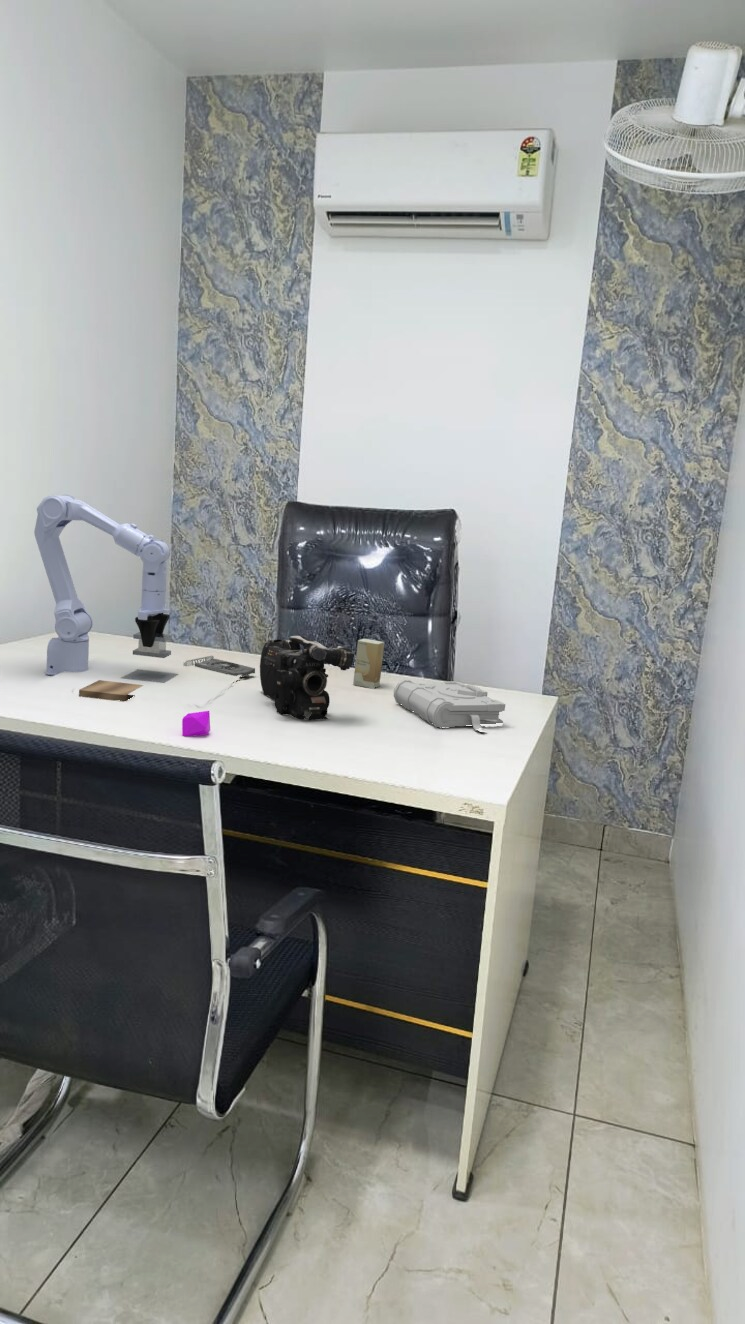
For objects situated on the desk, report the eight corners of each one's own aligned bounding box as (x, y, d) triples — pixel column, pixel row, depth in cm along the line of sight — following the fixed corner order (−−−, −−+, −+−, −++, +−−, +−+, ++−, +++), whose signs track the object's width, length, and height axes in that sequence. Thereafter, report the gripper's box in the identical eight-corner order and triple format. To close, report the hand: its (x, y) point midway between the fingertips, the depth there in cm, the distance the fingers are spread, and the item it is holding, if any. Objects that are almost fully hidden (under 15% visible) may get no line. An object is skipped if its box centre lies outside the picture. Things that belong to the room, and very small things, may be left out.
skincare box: (352, 685, 246) (356, 640, 243) (358, 682, 249) (362, 637, 247) (374, 689, 243) (379, 643, 241) (380, 686, 247) (385, 641, 245)
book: (443, 737, 204) (447, 703, 203) (390, 704, 229) (394, 674, 228) (517, 735, 212) (521, 703, 211) (458, 704, 237) (462, 675, 236)
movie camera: (362, 719, 209) (364, 642, 206) (289, 727, 201) (289, 647, 197) (306, 691, 236) (307, 623, 233) (240, 697, 228) (239, 627, 224)
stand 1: (78, 696, 211) (79, 689, 210) (99, 686, 221) (99, 680, 221) (125, 701, 209) (125, 695, 209) (143, 691, 220) (143, 685, 220)
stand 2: (120, 683, 225) (120, 677, 225) (137, 674, 236) (137, 669, 236) (163, 688, 224) (164, 682, 224) (179, 679, 235) (179, 673, 234)
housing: (132, 654, 227) (133, 634, 226) (140, 651, 232) (141, 631, 231) (164, 658, 226) (165, 638, 225) (171, 654, 231) (171, 634, 230)
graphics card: (180, 660, 244) (211, 654, 254) (180, 674, 244) (211, 667, 254) (228, 672, 235) (259, 665, 245) (228, 686, 236) (258, 679, 246)
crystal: (185, 729, 192) (186, 708, 191) (211, 732, 192) (212, 710, 191) (180, 736, 187) (181, 714, 186) (206, 739, 187) (207, 717, 186)
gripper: (159, 595, 218) (156, 651, 221) (179, 588, 232) (177, 641, 235) (130, 592, 219) (128, 648, 221) (152, 585, 233) (150, 638, 236)
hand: (151, 644), depth 228 cm, fingers closed on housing, 5 cm apart
